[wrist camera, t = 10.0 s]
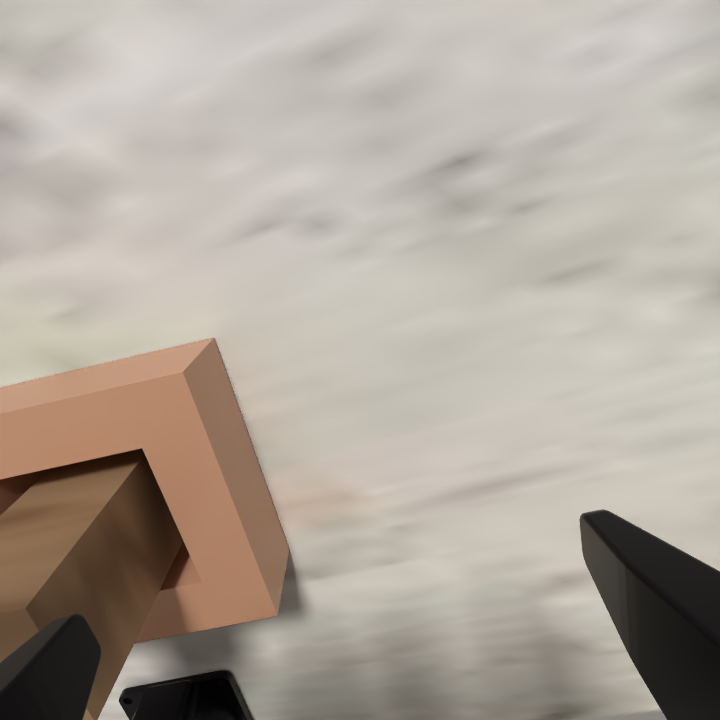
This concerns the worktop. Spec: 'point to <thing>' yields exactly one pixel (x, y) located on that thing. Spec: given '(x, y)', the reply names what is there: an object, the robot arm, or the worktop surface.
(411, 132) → the worktop surface
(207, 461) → the frame
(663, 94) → the worktop surface
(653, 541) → the robot arm
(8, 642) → the walnut peg
